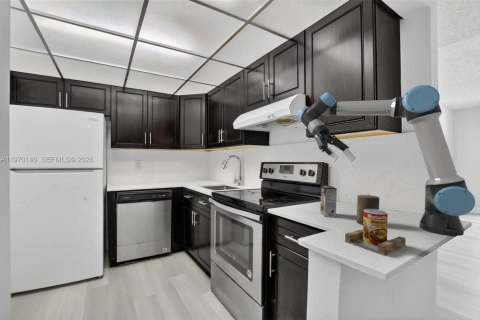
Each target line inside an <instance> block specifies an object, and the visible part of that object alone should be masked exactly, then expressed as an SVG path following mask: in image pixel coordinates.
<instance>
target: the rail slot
mask: <svg viewBox="0 0 480 320" xmlns="http://www.w3.org/2000/svg"><path fill="white" fill-rule="evenodd" d="M344 239H345V240H344V242H345V243H348V244H350V245H353V246H356V247H359V248H362V249H364V250H366V251H367V250H368V251H371V252H374V253H375V254H379V255H382V256H386V255H388V254H391V253H394V252H395V251H397V250H400V249H401V248H403V247H406V240H407V239H406V237H402V236H397V237H395V238H392V239H387V241H386V242H383V243H381V244H378V246H372V245H369V244H366V243H365V242H363V228H361V229H357V230H355V231H351V232H347V233H345V236H344Z"/></svg>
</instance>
